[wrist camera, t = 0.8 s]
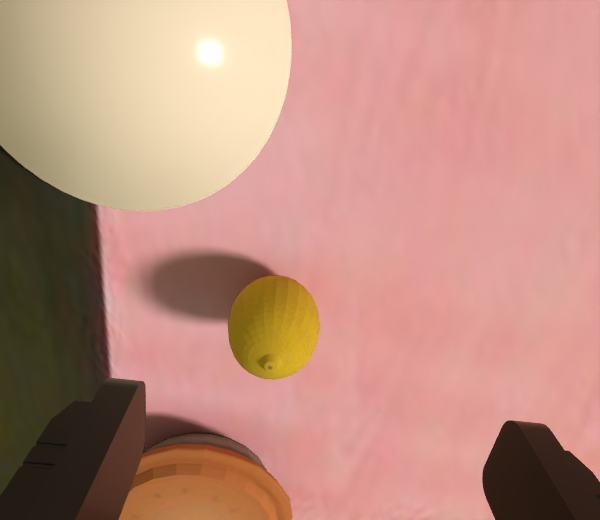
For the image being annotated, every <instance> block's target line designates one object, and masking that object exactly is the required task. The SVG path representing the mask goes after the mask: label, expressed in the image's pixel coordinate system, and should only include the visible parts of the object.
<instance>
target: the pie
mask: <svg viewBox="0 0 600 520" xmlns="http://www.w3.org/2000/svg"><path fill="white" fill-rule="evenodd" d="M292 517H293V516H292V510H291V504H290V498H289V497H288V495H287V494H286V493H285V491H284V490H283V488H282V487H281V486H280V484H279V483H278V482H277V480H276V479H275V478H274V477H273V476H272V475H271V474H270V473H268V472H267V470H266V468H265V467H264V465H263V464H262V462H261V461H260V459H259V458H258V456H256V455H255V454H254V453H253V452H252V451H250V450H249V449H248V448H247V447H246V446H244V445H242V444H240V443H238V442H236V441H234V440H231V439H229V438H226V437H222V436H217V435H213V434H201V433H189V434H184V435H179V436H173V437H170V438H168V439H166V440H164V441H162V442H160V443H157V444H156V445H154V446H153V447H151V448H150V449H148V450H147V451H145V452H144V453H143V454H142V458H141V461H140V464H139V467H138V470H137V472H136V475H135V478H134V480H133V483H132V486H131V488H130V491H129V493H128V496H127V499H126V501H125V504H124V507H123V509H122V512H121V515H120V517H119V520H292Z"/></svg>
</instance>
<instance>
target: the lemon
mask: <svg viewBox="0 0 600 520" xmlns="http://www.w3.org/2000/svg"><path fill="white" fill-rule="evenodd" d="M228 333H229V343H230V346H231V349H232V352H233V354H234V357H235V358H236V360H237V361H238V362H239V364H240V365H241V366H242V367H243V368H244V369H245V370H247V371H248V372H249V373H251V374H253V375H255V376H257V377H260V378H264V379H281V378H285V377H288V376H291V375H293V374H294V373H296V372H297V371H299V370H300V369H302V368H303V366H304V365H305V364H306V363H307V362H308V361H309V359H310V358H311V356H312V354H313V352H314V350H315V347H316V344H317V340H318V335H319V315H318V310H317V307H316V305H315V302H314V300H313V298H312V296H311V295H310V293H309V292H308V291H307V290H306V288H305V287H304V286H302V285H301V284H300V283H298V282H297V281H295V280H293V279H291V278H288V277H284V276H279V275H273V276H265V277H261V278H258V279H256V280H255V281H253V282H251V283H249V284H248V285H247V286H246V287H245V288H244V289H243V290H242V291H241V292H240V293H239V295H238V296H237V298H236V300H235V301H234V303H233V305H232V308H231V312H230V316H229V321H228Z"/></svg>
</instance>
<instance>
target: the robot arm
mask: <svg viewBox="0 0 600 520" xmlns="http://www.w3.org/2000/svg"><path fill="white" fill-rule="evenodd" d="M145 436H146V395H145V383H144V382H143V381H135V380H125V379H115V378H107V379H106V380H105V381H104V382H103V383H102V385H101V387H100V389H99V390H98V392H97V394H96V395H95V397H94V399H93V401H92V402H82V401H74V402H73V403H71V404H70V405H69V406H68V407H66V408H65V409H64V410H63V411H61V412H60V413H59V414H57V415H56V416H55V417H54V418H52V419H51V421H50V422H49V424H48V425H47V427H46V428H45V430H44V431H43V433H42V434H41V436H40V437H39V439H38V440H37V442H36V446H35V447H33V448H32V449H31V451H30V452H29V454H28V455H27V457H26V458H25V460H24V461H23V465H22V467H19V469H18V470H17V472H16V473H15V475H14V476H13V478H12V479H11V481H10V482H9V484H8V485H7V487H6V488H5V490H4V491H3V493H2V494H1V496H0V520H119V517H120V515H121V512H122V509H123V507H124V504H125V501H126V499H127V496H128V493H129V491H130V488H131V486H132V483H133V480H134V478H135V475H136V472H137V470H138V467H139V464H140V461H141V458H142V454H143V450H144V444H145ZM482 479H483V489H484V493H485V496H486V499H487V501H488V504H489V506H490V508H491V510H492V513H493V515H494V517H495V520H600V482H599V481H598V479H597V478H596V476H595V475H594V474H593V472H592V471H591V470H589V469H588V468H587V467H586V466H585V465H584V464H583V463H582V462H581V461H580V460H578V459H577V458H576V457H575V456H574V455H573V454H572V453H571V452H570V451H565V450H564V449H563V448H562V446H561V445H560V443H559V442H558V440H557V439H556V437H555V436H554V434H553V433H552V431H551V430H550V429H549V428H548V427H547V426H546V425H544V424H540V423H530V422H521V421H507V422H505V423H504V425H503V426H502V428H501V431H500V433H499V435H498V437H497V439H496V442H495V444H494V446H493V448H492V450H491V453H490V455H489V457H488V459H487V461H486V464H485V466H484V469H483V478H482Z"/></svg>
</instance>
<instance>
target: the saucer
mask: <svg viewBox="0 0 600 520" xmlns="http://www.w3.org/2000/svg"><path fill="white" fill-rule="evenodd" d="M291 54H292V40H291V23H290V17H289V11H288V5H287V0H0V145H1V146H2V147H3V148H4V149H5V151H7V152H8V153H9V154H10V155H11V156H12V157H13V158H15V159H16V160H17V161H18V162H19V163H20V164H21V165H23V166H24V167H25V168H26V169H28V170H29V171H31V172H32V173H33V174H35V175H36V176H38V177H39V178H40V179H42V180H44V181H45V182H47V183H49V184H51V185H52V186H54V187H56V188H58V189H59V190H61V191H63V192H65V193H68V194H70V195H72V196H74V197H77V198H79V199H81V200H84V201H88V202H91V203H94V204H97V205H100V206H105V207H110V208H115V209H120V210H131V211H157V210H165V209H171V208H176V207H181V206H184V205H187V204H190V203H193V202H197V201H199V200H201V199H203V198H205V197H207V196H209V195H212V194H214V193H215V192H217V191H218V190H220V189H222V188H223V187H225V186H226V185H228V184H229V183H231V182H232V181H233V180H234V179H235V178H236V177H237V176H239V175H240V174H241V173H242V172H243V171H244V170H245V169H246V168H247V167H248V166H249V165H250V164H251V162H252V161H253V160H254V159H255V158H256V157H257V155H258V154H259V153H260V151H261V149H262V148H263V146H264V145H265V143H266V142H267V140H268V139H269V137H270V135H271V133H272V131H273V129H274V127H275V124H276V122H277V120H278V118H279V115H280V112H281V109H282V106H283V103H284V100H285V97H286V92H287V87H288V81H289V76H290V69H291Z"/></svg>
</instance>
